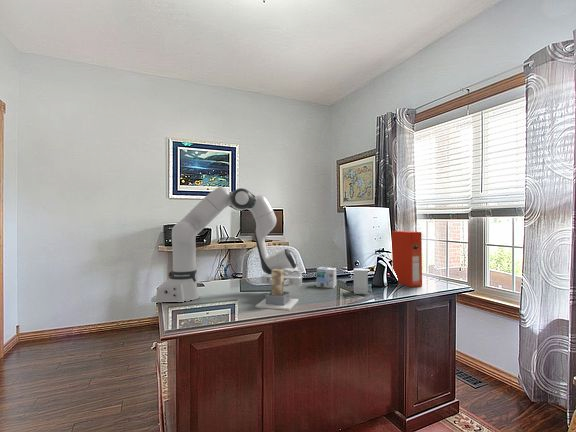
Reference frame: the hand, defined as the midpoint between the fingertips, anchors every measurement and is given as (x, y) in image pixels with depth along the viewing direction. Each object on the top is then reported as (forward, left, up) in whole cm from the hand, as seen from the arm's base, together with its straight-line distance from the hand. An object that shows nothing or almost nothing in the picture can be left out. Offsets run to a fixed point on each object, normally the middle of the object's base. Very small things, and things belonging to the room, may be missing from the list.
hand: (277, 282), depth 143 cm
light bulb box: (+29, +37, -10) cm, 48 cm away
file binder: (+79, +41, -10) cm, 90 cm away
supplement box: (+45, +21, -10) cm, 51 cm away
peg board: (0, +1, -10) cm, 10 cm away
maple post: (0, +1, -8) cm, 8 cm away
